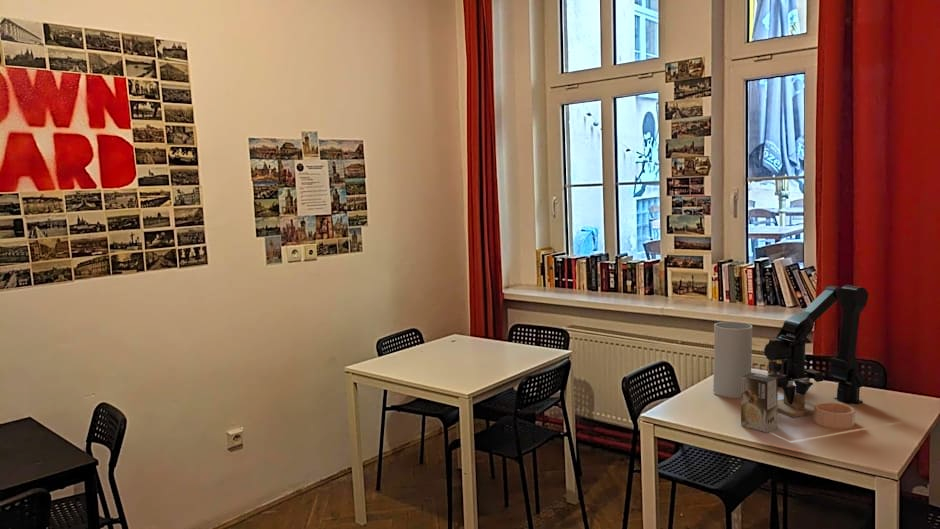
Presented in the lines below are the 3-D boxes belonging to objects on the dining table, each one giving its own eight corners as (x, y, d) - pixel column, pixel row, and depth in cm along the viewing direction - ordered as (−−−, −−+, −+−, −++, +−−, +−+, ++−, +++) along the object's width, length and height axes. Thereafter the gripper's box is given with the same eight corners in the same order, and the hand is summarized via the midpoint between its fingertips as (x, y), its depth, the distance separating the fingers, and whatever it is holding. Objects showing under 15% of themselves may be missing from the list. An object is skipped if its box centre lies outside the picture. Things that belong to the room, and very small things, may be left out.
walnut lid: (795, 400, 242) (795, 386, 241) (825, 411, 230) (825, 396, 229) (763, 405, 238) (764, 390, 237) (792, 417, 226) (793, 402, 225)
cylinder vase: (707, 395, 252) (708, 326, 249) (721, 386, 261) (722, 320, 258) (743, 401, 244) (744, 330, 241) (755, 392, 253) (757, 324, 250)
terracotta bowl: (833, 415, 228) (834, 400, 227) (862, 426, 217) (862, 411, 217) (806, 420, 224) (806, 405, 224) (834, 431, 214) (834, 415, 213)
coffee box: (778, 428, 218) (779, 377, 216) (767, 433, 214) (768, 382, 212) (750, 420, 225) (751, 371, 223) (739, 425, 221) (740, 375, 219)
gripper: (799, 348, 242) (798, 393, 244) (754, 354, 236) (753, 399, 238) (825, 356, 232) (823, 402, 234) (779, 362, 226) (778, 409, 228)
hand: (794, 403), depth 234 cm, fingers closed on walnut lid, 3 cm apart
